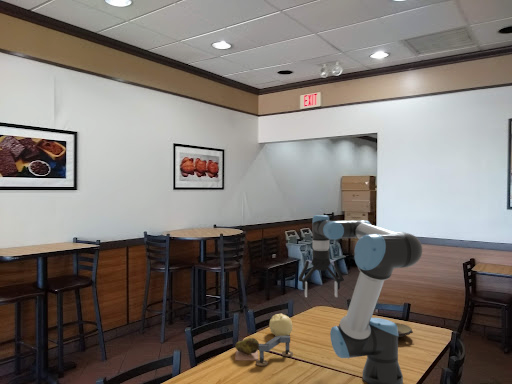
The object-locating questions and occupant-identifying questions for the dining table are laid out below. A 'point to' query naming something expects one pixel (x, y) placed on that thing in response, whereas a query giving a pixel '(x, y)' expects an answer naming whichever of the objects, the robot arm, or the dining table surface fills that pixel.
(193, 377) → the dining table surface
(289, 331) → the cream lumpy ball
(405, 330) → the oil lamp
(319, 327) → the dining table surface
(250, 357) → the plate
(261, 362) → the rail
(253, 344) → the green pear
